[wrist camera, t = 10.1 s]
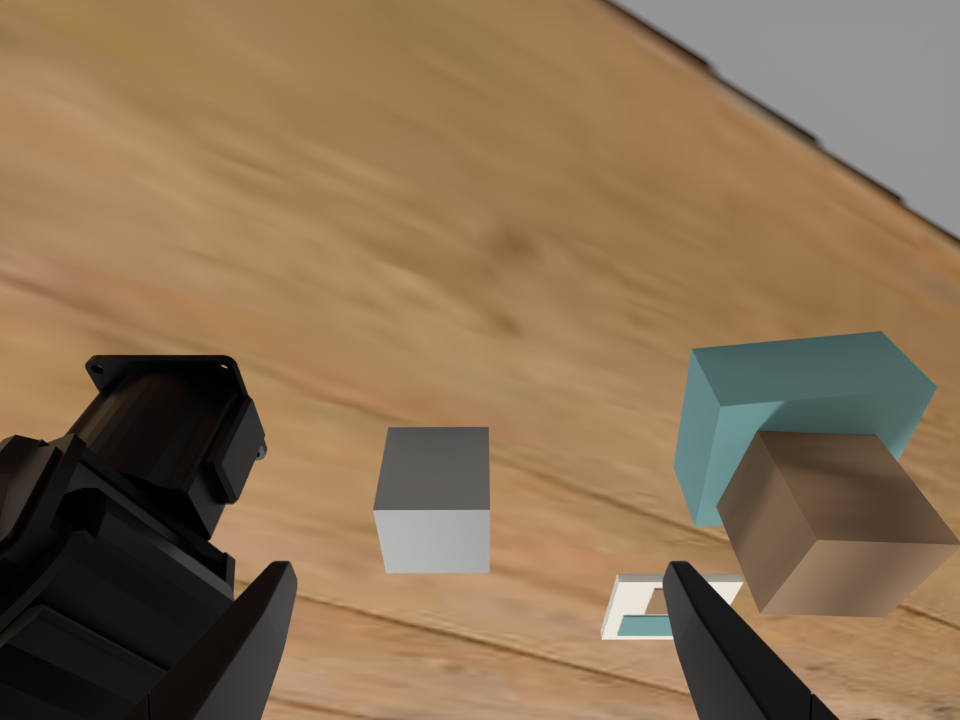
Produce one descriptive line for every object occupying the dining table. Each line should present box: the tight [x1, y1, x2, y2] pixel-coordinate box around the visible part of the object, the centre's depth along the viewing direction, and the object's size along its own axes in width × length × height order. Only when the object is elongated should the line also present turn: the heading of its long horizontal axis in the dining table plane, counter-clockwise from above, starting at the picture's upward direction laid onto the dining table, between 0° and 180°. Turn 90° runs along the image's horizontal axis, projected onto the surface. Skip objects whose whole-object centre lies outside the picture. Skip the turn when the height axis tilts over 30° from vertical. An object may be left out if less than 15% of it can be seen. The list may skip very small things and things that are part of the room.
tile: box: [600, 574, 743, 640], centre depth 38 cm, size 8×8×1 cm
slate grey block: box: [373, 427, 490, 573], centre depth 27 cm, size 5×5×5 cm
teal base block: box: [673, 331, 937, 527], centre depth 25 cm, size 8×8×4 cm
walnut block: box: [716, 431, 960, 618], centre depth 22 cm, size 5×5×5 cm
